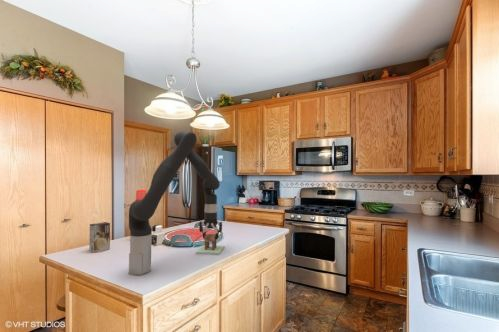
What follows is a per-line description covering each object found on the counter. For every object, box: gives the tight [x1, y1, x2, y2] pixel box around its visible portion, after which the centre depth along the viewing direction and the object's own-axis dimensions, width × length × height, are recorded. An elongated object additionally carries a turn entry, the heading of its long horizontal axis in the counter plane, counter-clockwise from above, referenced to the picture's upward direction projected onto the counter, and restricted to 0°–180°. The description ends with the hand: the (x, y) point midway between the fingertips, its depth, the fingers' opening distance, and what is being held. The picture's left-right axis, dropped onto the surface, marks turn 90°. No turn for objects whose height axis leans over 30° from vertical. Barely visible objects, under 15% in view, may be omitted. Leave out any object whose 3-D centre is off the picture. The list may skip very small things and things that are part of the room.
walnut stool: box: [203, 233, 217, 250], centre depth 149 cm, size 6×6×8 cm
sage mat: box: [194, 244, 226, 256], centre depth 149 cm, size 14×14×1 cm
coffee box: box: [88, 221, 111, 254], centre depth 150 cm, size 9×6×16 cm
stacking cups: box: [134, 189, 148, 201], centre depth 173 cm, size 10×10×35 cm
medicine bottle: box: [151, 224, 166, 247], centre depth 164 cm, size 7×7×12 cm
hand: (210, 239), depth 150 cm, fingers open, 6 cm apart
